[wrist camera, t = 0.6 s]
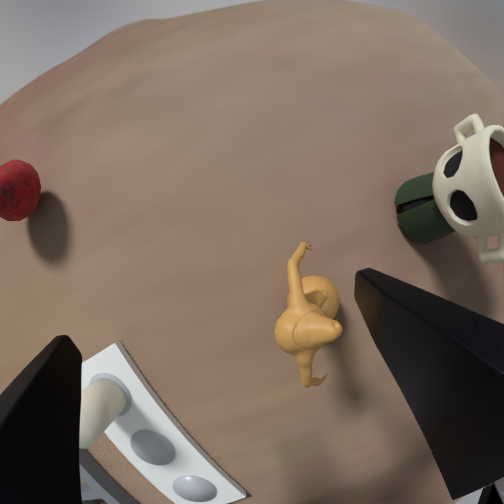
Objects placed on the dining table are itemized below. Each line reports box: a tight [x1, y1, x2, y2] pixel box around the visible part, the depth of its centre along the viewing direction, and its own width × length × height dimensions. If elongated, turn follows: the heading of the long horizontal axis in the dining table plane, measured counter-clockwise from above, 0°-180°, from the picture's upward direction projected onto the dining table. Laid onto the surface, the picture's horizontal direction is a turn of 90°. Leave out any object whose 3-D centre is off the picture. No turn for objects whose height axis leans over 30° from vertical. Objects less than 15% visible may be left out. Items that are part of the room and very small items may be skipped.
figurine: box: [274, 242, 342, 387], centre depth 16 cm, size 8×6×12 cm
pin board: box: [79, 448, 140, 504], centre depth 18 cm, size 20×9×2 cm, turn 32°
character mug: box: [395, 114, 504, 264], centre depth 17 cm, size 11×7×13 cm, turn 3°
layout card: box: [79, 340, 246, 504], centre depth 17 cm, size 20×8×8 cm, turn 32°
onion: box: [0, 160, 41, 221], centre depth 18 cm, size 6×6×8 cm
